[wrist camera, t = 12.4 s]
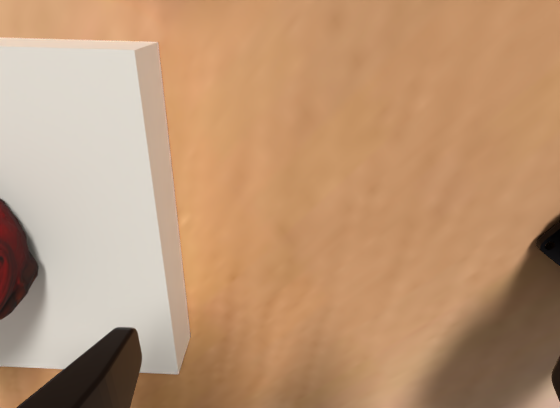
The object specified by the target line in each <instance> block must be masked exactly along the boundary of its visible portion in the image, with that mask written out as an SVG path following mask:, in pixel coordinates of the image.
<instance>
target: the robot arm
mask: <svg viewBox="0 0 560 408" xmlns="http://www.w3.org/2000/svg"><path fill="white" fill-rule="evenodd" d="M549 242H550V244H548V245H546V244H547V243H549ZM536 245H537V247H538V248H539V249H540V250H541V251H542V252H543V253H544V254H545V255H547V256H548V257H549V258H550V259H552V260H553V261H554V262H556V263H557V264H558V265H559V266H560V221H559V222H558V223H557V224H556V225H554V226H553V227H552V228H551V229H549V230H548V231H547V232H546V233H544V234H543V235H542V236H541V237H540V238H539V239H538V240H537V242H536ZM545 245H546V246H545ZM141 364H142V352H141V347H140V342H139V337H138V332H137V330H136V329H135V328H133V327H116V328H114V329H113V330H112V331H110V332H109V333H108V334H107V335H105V336H104V337H103V338H102V339H101V340H99V341H98V342H97V343H96V344H94V345H93V346H92V347H91V348H89V349H88V350H87V351H86V352H84V353H83V354H82V355H81V356H80V357H78V358H77V359H76V360H75V361H73V362H72V363H71V364H70V365H68V366H67V367H66V368H65V369H63V370H62V371H61V372H60V373H59V374H57V375H56V376H55V377H54V378H52V379H51V380H50V381H49V382H47V383H46V384H45V385H44V386H43V387H41V388H40V389H39V390H38V391H36V392H35V393H34V394H33V395H31V396H30V397H29V398H28V399H26V400H25V401H24V402H23V403H22V404H20V405H19V406H18V407H17V408H130V405H131V401H132V398H133V394H134V390H135V387H136V383H137V379H138V376H139V372H140V368H141ZM552 383H553V386H554V389H555V391H556V394H557V396H558V399H559V401H560V357H559V359H558V361H557V363H556V365H555V367H554V369H553V371H552Z"/></svg>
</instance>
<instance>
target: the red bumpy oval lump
mask: <svg viewBox="0 0 560 408" xmlns="http://www.w3.org/2000/svg"><path fill="white" fill-rule="evenodd" d="M38 268H39V266H38V263H37V261H36V260H35V259H34V257H33V256H32V254H31V252H30V251H29V248H28V245H27V237H26V234H25V232H24V231H23V229H22V227H21V225H20V224H19V221H18V219H17V218H16V217H15V216H14V215H13V213H12V212H11V211H10V210H9V208H8V207H7V206H6V204H5V201H3V200H2V199H0V320H1V319H3V318H5V317H6V316H8V315H9V314H10V313H12V312H13V310H14V309H15V308H16V307H17V306H18V304H19V303H20V302H21V301H22V300H23V298H24V297H25V296H26V295H27V294H28V291H29V289H30V287H31V285H32V284H33V282H34V280H35V279H36V277H37V276H38Z"/></svg>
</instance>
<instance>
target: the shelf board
mask: <svg viewBox="0 0 560 408" xmlns="http://www.w3.org/2000/svg"><path fill="white" fill-rule="evenodd" d="M0 199H2V200H3V201H5V204H6V206H7V207H8V208H9V210H10V211H11V212H12V213H13V215H14V216H15V217H16V218H17V219H18V221H19V224H20V225H21V227H22V229H23V231H24V232H25V234H26V237H27V245H28V248H29V251H30V252H31V254H32V256H33V257H34V259H35V260H36V261H37V263H38V266H39V268H38V276H37V277H36V279H35V280H34V282H33V284H32V285H31V287H30V289H29V291H28V294H27V295H26V296H25V297H24V298H23V300H22V301H21V302H20V303H19V304H18V306H17V307H16V308H15V309H14V310H13V312H12V313H10V314H9V315H8V316H6V317H5V318H3V319H1V320H0V366H7V367H29V368H51V369H65V368H66V367H67V366H68V365H70V364H71V363H72V362H73V361H75V360H76V359H77V358H78V357H80V356H81V355H82V354H83V353H84V352H86V351H87V350H88V349H89V348H91V347H92V346H93V345H94V344H96V343H97V342H98V341H99V340H101V339H102V338H103V337H104V336H105V335H107V334H108V333H109V332H110V331H112V330H113V329H114V328H116V327H133V328H135V329H136V330H137V332H138V337H139V342H140V347H141V352H142V364H141V368H140V372H139V373H160V374H179V372H180V368H181V365H182V362H183V359H184V355H185V352H186V349H187V346H188V343H189V339H190V327H189V318H188V309H187V300H186V291H185V282H184V272H183V263H182V254H181V245H180V236H179V227H178V218H177V209H176V200H175V191H174V181H173V172H172V163H171V154H170V145H169V136H168V127H167V118H166V109H165V100H164V91H163V81H162V72H161V63H160V54H159V45H158V42H143V41H108V40H72V39H36V38H0Z"/></svg>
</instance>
